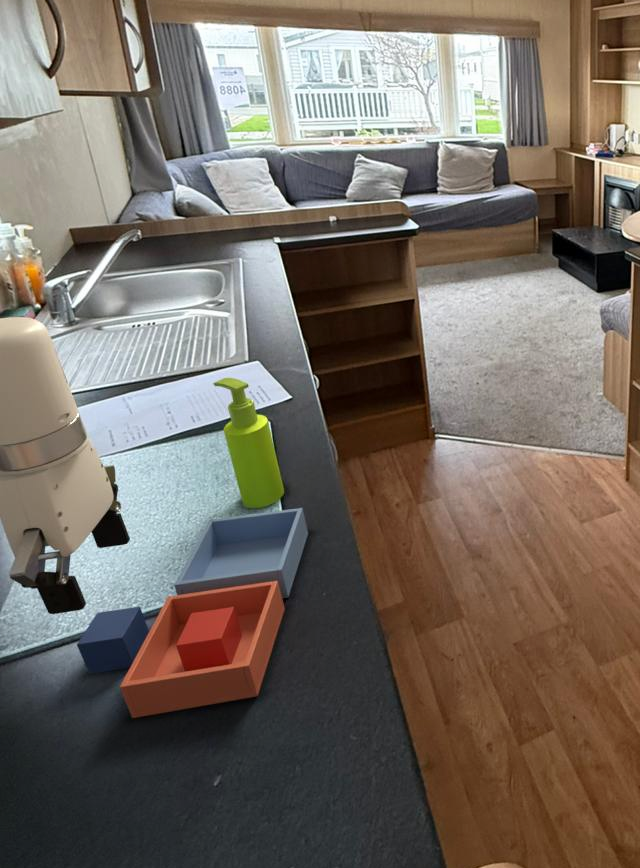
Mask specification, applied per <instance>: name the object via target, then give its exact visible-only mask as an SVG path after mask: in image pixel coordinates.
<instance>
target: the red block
mask: <svg viewBox="0 0 640 868" xmlns="http://www.w3.org/2000/svg"><path fill="white" fill-rule="evenodd" d="M241 637H242V634H241V630H240V627H239V623H238V620H237V617H236V613H235V610H234V607H230V608H223V609H217V610H210V611H203V612H197V613H191V615H190V617H189V619H188V621H187V624H186V626H185V628H184V630H183V632H182V634H181V636H180V638H179V640H178V642H177V645H176V647H177V650H178V653H179V656H180V659H181V661H182V664H183V667H184V670H185V672H188V671H194V670H200V669H206V668H212V667H218V666H224V665H230V664H232V661H233V659H234V656H235V653H236V650H237V648H238V645H239V642H240V640H241Z"/></svg>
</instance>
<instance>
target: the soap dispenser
mask: <svg viewBox="0 0 640 868" xmlns="http://www.w3.org/2000/svg"><path fill="white" fill-rule="evenodd" d="M212 384H213V385H214V387H221V388H224V389H227V390H229V391H230V394H231V398H232V401H231V402H230V403H229V404H228V405H227V410H228V413H229V417H230V421H229V422H227V423H226V424H225V426H224V427H223V434H224V437H225V442H226V445H227V448H228V452H229V456H230V460H231V463H232V468H233V471H234V475H235V479H236V482H237V487H238V490H239V495H240V498H241V501H242V502H241V503H242V504H243V506H245V507H246V508H250V509H260V508H266V507H268V506H271V505H273V504H274V503H276V502H278V501H279V500H280V499H282V497H283V496H284V494H285V488H284V484H283V480H282V475H281V471H280V467H279V462H278V458H277V454H276V450H275V445H274V441H273V436H272V432H271V428H270V424H269V420H268V417H266V415H263V414H259V413H258V414H257V410H256V406H255V401H254V400H253V399H252V398H247V396H246V392H245V390H246V389H248V388H249V387H250V386H249V383H247V382H246V381H243V380H240V379H238V378H234V377H224V378H222V379H220V380H217V381H215V382H213V383H212Z"/></svg>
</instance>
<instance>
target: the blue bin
mask: <svg viewBox="0 0 640 868" xmlns="http://www.w3.org/2000/svg"><path fill="white" fill-rule="evenodd" d="M308 536H309V531H308V527H307V522H306V518H305V513H304V509H303V507H298V508H292V509H282V510H276V511H275V510H274V511H267V512H259V513H251V514H244V515H235V516H228V517H220V518H213V519H211V518H210V519H208V521H207V522H206V525H205V526H204V528H203V530H202V532H201V534H200V535H199V538H198V539H197V541H196V543H195V545H194V547H193V549H192V551H191V553H190V555H189V556H188V558H187V559H186V562H185V564H184V566H183V568H182V569H181V572H180V573H179V575H178V577H177V579H176V580H175V582H174V589H175V592H176V595H182V594H189V593H196V592H203V591H210V590H217V589H224V588H230V587H237V586H244V585H251V584H258V583H265V582H273V581H278V584H279V588H280V592H281V596H282V599H288V598H289V596H290V594H291V590H292V587H293V583H294V580H295V577H296V574H297V571H298V568H299V564H300V562H301V558H302V555H303V551H304V548H305V546H306V542H307V539H308Z"/></svg>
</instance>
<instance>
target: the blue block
mask: <svg viewBox="0 0 640 868" xmlns="http://www.w3.org/2000/svg"><path fill="white" fill-rule="evenodd" d="M149 631H150V629H149V627H148V624H147V621H146V619H145V616H144V613H143V611H142V608H141V606H134V607H133V606H132V607H128V608H126V607H125V608H120V609H114V610H105V611H99V612H97V613H96V614H95V615H94V617H93V618H92V620H91V622H90V624H89V625H88V626H87V628H86V629H85V631H84V633H83V634H82V636H81V637H80V638H79V640H78V641H77V643H76V647H77V649H78V650H79V653H80V656H81V658H82V660H83V663H84V665H85V668H86V669H87V672H88V675H90V674H95V673H102V672H108V671H109V672H110V671H115V670H122V669H128V668H130V667H131V665H132V663H133V661H134V659H135V658H136V656H137V654H138V652H139V650H140V648H141V646H142V644H143V643H144V641H145V639H146V637H147V635H148V633H149Z"/></svg>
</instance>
